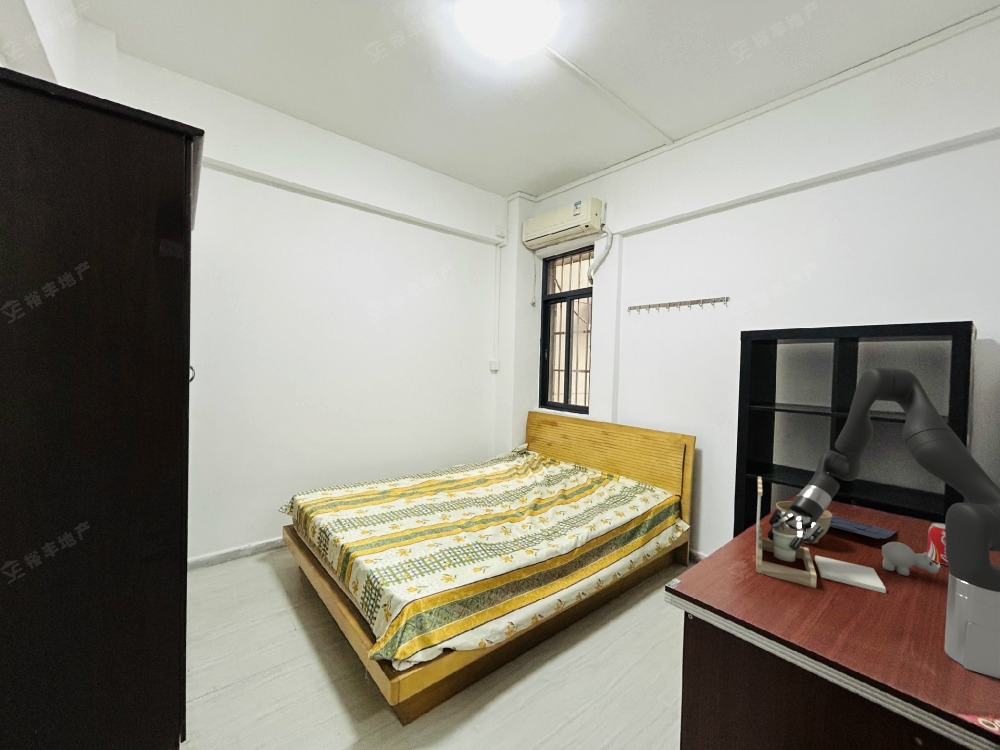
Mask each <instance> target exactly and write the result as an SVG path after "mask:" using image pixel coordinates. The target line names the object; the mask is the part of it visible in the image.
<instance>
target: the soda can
mask: <svg viewBox="0 0 1000 750" xmlns="http://www.w3.org/2000/svg"><path fill="white" fill-rule="evenodd" d="M926 545H927V546H926V549H927V550H926V552H927V556H928V557H930V559H931V560H933V561H935V562H937V563H941V564H945V565H949V563H948V560H947V557H946V536H945V523H939V522H932V523H931V525H930V526H929V527H928V532H927V544H926ZM933 561H932V562H933ZM935 562H934V563H935ZM937 563H936V564H937Z"/></svg>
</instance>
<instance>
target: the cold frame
mask: <svg viewBox="0 0 1000 750" xmlns="http://www.w3.org/2000/svg"><path fill="white" fill-rule="evenodd" d="M762 497H763V480H762V476H757V507H756V509H757V510H756V544H755V551H756V553H755V556H756V557H755V561H756V562H755V563H756V565H755V567H756V568H755V571H756V572H758V573H757V574H760V573H761V574H760V575H764V574H765V576H769V577H772V578H777V579H779V580H780V579H781V580H785V581H787V582H791V583H795V584H799V585H803V586H806V587H811V588H814V589H816V588H817V575H818V574H817V573H816V569H815V566H814V563H813V559H812V556H811V553H810V549H809V548H808V547H805V546H804V547H803V546H800V548H799V549H798V550H796V551H795V559H796V558H797V559H801V560H803V564H804V567H805V570H801V569H797V568H794V567H789V566H787V565H782V564H777V563H773V562H769V561H765V560H763V551H765V550H766V552H771V553H774V544H773V541H772V540H770V539H769V538H763V537H762V536H763V534H762V533H763V532H762V531H763V530H762V527H760V523H761V521H760V519H761V506H762V505H761V502H762Z"/></svg>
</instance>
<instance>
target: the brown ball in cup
mask: <svg viewBox="0 0 1000 750" xmlns="http://www.w3.org/2000/svg"><path fill="white" fill-rule="evenodd" d="M772 533H773V544H774V552H773V556H774V558H776V559H779V560H781V561H785V562H795V561H796V557H795V551H794V550H792V549H791V548H790V544H791V542H792V541H793V540H794V539H795V537H798V533H797V532H795V531H792V530H789V529H785V528H773V530H772Z"/></svg>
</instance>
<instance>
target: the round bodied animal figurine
mask: <svg viewBox="0 0 1000 750" xmlns="http://www.w3.org/2000/svg"><path fill="white" fill-rule="evenodd" d="M881 555H882V557H883V560H882V568H883V569H884V570H886V571H890V572H894V571H896V573H897V574H899V575H902V576H906V577H907V576H909V575H910V568H912V567H914V566H915V567H917V568H919V569H922V570H926V572H928V573H929V574H938V573H939V570H940V568H941V567H942V565H940V563H938V564H937V563H935V562H933V561H932V560H931V559H930V557H928V556H927V551H924V552H923V553H915V552H914V550H913V549H912V548H911V547H910V546H908V545H906V544H905V543H902V542H898V541H890V542H887V543H886V544H883V545H882V546H881Z"/></svg>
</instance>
